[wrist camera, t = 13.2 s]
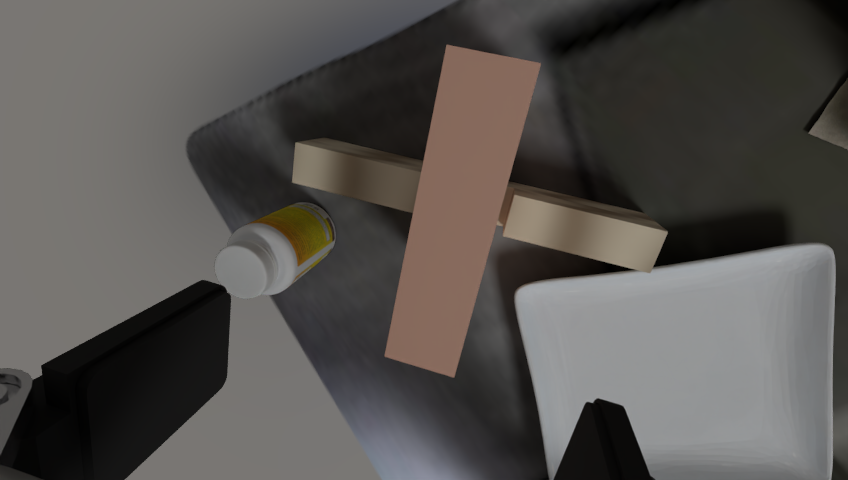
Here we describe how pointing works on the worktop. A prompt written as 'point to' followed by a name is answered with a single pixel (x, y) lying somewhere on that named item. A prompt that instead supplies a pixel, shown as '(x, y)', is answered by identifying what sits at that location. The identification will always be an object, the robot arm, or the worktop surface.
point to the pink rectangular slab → (458, 203)
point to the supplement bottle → (275, 250)
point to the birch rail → (520, 213)
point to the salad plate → (694, 361)
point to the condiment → (834, 119)
